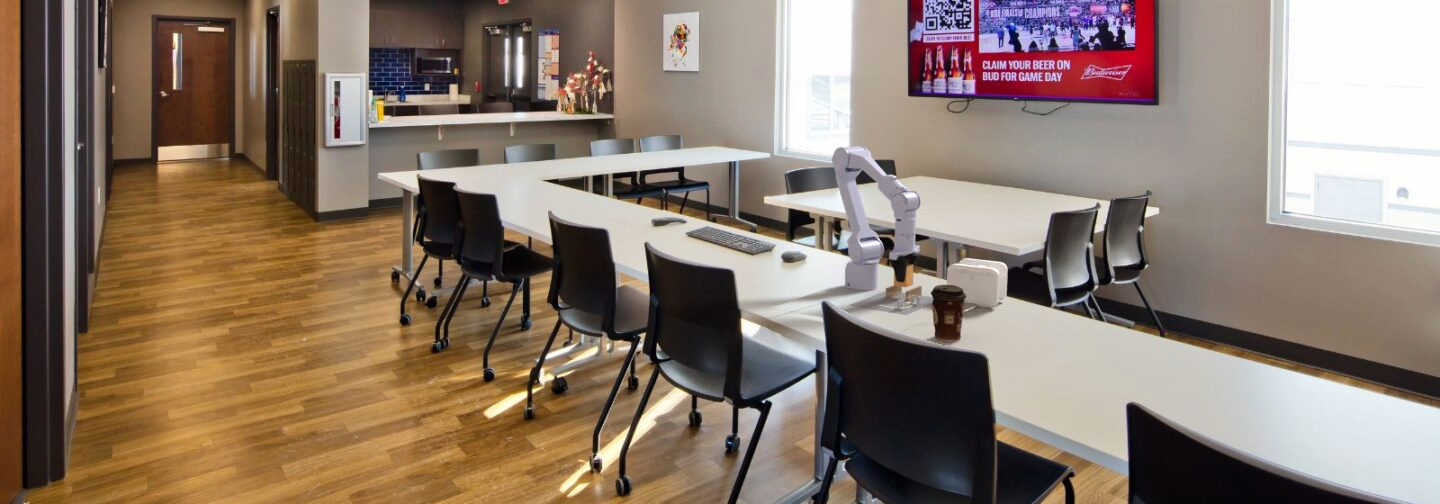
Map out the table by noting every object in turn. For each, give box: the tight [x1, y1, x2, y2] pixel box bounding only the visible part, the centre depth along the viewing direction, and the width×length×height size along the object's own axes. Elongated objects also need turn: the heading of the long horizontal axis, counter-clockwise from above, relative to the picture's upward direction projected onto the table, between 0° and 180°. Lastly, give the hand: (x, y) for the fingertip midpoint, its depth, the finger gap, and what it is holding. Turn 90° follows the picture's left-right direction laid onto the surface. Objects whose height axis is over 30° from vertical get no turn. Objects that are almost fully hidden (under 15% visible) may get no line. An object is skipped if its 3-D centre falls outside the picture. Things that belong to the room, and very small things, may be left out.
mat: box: [849, 290, 933, 316], centre depth 263 cm, size 18×22×4 cm
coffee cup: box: [930, 284, 966, 343], centre depth 229 cm, size 9×8×13 cm
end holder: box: [885, 284, 923, 302], centre depth 268 cm, size 7×8×3 cm
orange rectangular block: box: [893, 264, 914, 288], centre depth 267 cm, size 4×4×6 cm
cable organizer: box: [946, 257, 1009, 309], centre depth 264 cm, size 15×11×12 cm
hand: (904, 280), depth 268 cm, fingers closed on orange rectangular block, 4 cm apart
